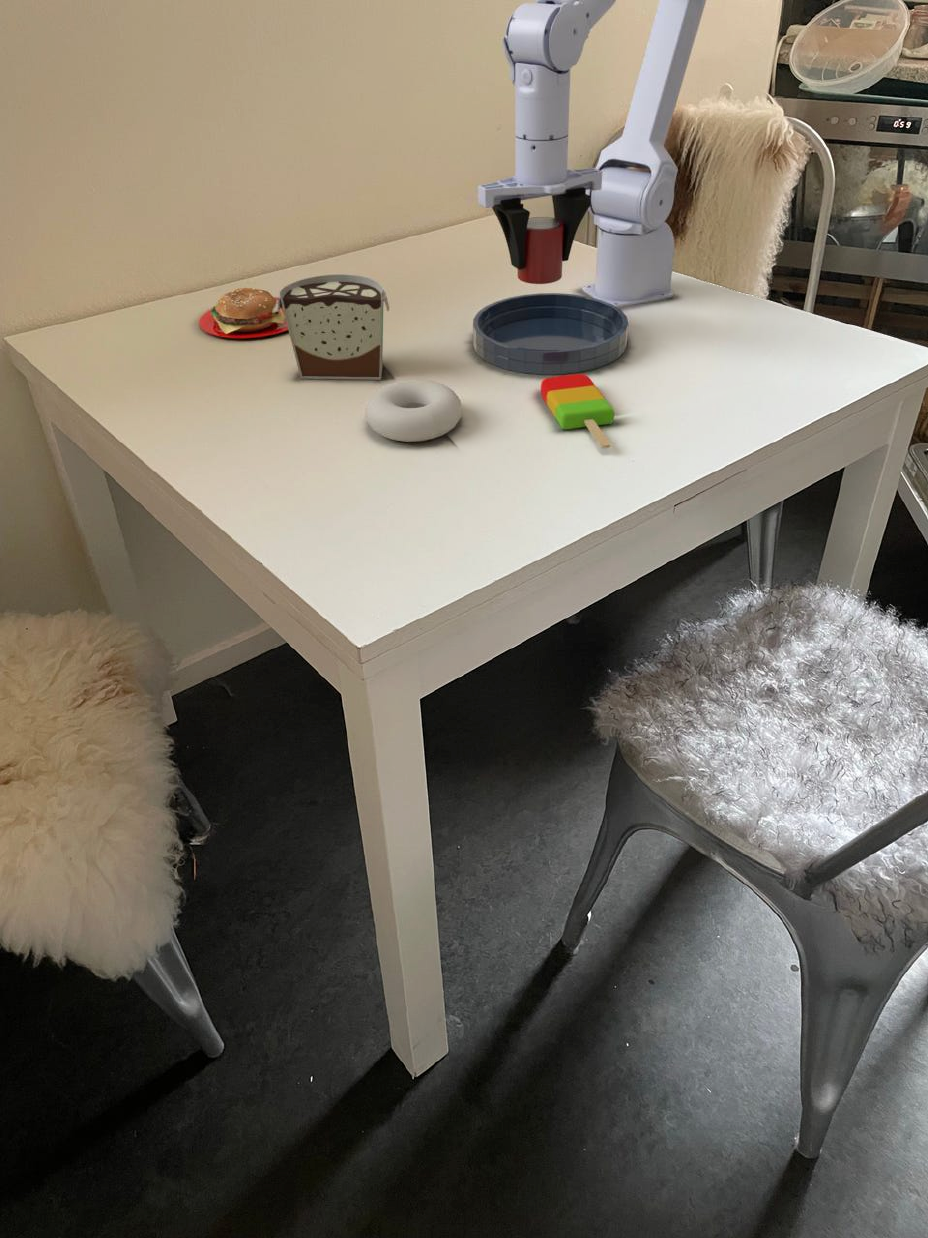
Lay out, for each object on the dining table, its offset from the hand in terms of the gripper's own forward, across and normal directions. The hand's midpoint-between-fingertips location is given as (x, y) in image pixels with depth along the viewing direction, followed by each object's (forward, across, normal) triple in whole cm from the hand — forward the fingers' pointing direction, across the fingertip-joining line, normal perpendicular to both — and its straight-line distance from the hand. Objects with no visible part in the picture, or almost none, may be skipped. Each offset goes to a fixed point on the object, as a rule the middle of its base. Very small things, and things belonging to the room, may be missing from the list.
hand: (539, 262), depth 112 cm
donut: (+9, -22, -15) cm, 28 cm away
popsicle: (+9, -6, -22) cm, 25 cm away
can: (+2, 0, 0) cm, 2 cm away
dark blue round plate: (+9, 0, -3) cm, 9 cm away
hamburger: (+9, -30, +22) cm, 38 cm away
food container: (+9, -24, +2) cm, 26 cm away
